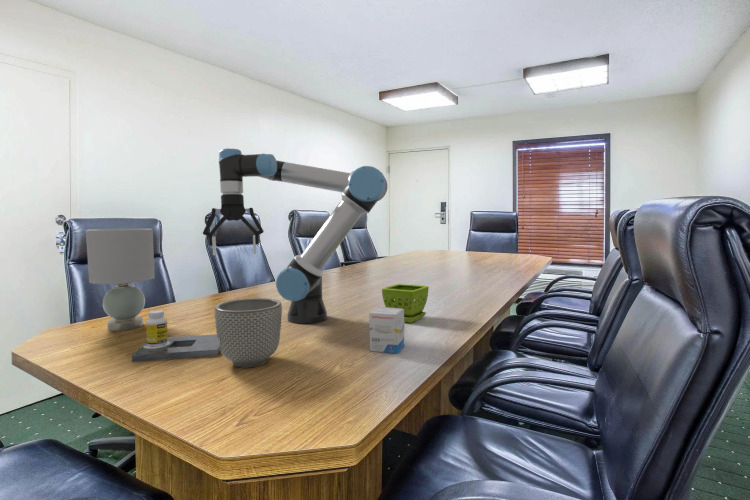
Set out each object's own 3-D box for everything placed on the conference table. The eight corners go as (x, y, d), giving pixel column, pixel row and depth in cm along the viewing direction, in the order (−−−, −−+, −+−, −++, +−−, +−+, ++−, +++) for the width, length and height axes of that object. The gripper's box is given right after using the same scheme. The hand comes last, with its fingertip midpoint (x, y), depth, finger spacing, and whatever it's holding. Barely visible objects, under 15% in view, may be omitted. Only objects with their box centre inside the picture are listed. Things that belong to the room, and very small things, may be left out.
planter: (246, 379, 97) (244, 314, 96) (202, 366, 106) (200, 306, 105) (296, 358, 112) (295, 301, 111) (253, 348, 121) (252, 295, 120)
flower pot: (429, 317, 157) (429, 285, 156) (413, 326, 145) (413, 291, 144) (398, 313, 164) (398, 282, 163) (380, 320, 153) (380, 287, 152)
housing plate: (225, 339, 130) (225, 332, 130) (217, 355, 114) (216, 348, 114) (151, 343, 125) (151, 337, 125) (131, 361, 110) (131, 354, 110)
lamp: (78, 331, 140) (72, 229, 137) (132, 317, 158) (127, 228, 156) (117, 337, 132) (111, 230, 130) (169, 322, 151) (165, 228, 148)
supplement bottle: (158, 347, 115) (157, 314, 114) (142, 346, 116) (140, 313, 115) (171, 341, 120) (170, 309, 120) (156, 340, 121) (154, 309, 121)
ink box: (405, 345, 123) (405, 307, 122) (397, 354, 115) (397, 314, 114) (378, 342, 126) (378, 305, 125) (369, 351, 118) (368, 311, 117)
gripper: (268, 194, 148) (271, 252, 149) (196, 195, 142) (199, 254, 143) (268, 193, 140) (271, 253, 142) (191, 193, 134) (195, 256, 136)
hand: (235, 254), depth 143 cm, fingers open, 13 cm apart
